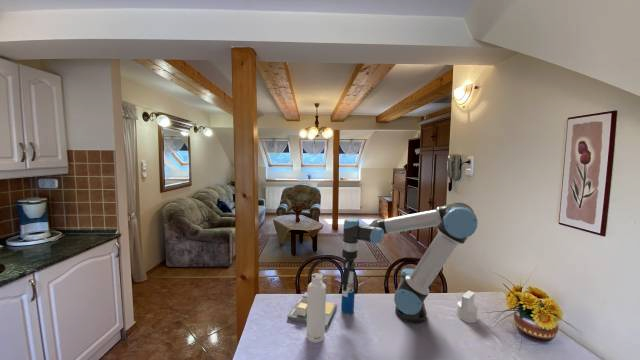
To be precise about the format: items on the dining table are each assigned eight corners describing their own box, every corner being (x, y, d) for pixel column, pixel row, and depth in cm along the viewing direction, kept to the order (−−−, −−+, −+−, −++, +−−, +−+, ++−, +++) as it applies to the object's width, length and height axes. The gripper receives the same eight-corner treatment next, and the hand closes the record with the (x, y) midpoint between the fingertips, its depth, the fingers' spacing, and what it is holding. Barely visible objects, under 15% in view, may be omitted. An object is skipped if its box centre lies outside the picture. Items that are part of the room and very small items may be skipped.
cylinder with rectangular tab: (472, 325, 126) (475, 301, 125) (453, 316, 133) (455, 293, 132) (479, 317, 132) (481, 295, 131) (460, 309, 139) (462, 288, 138)
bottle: (318, 345, 110) (320, 282, 107) (302, 338, 114) (304, 277, 111) (327, 333, 117) (329, 274, 114) (312, 327, 121) (314, 269, 118)
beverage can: (350, 316, 130) (351, 294, 129) (338, 312, 133) (339, 290, 132) (355, 310, 135) (356, 288, 134) (344, 306, 139) (345, 284, 137)
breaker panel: (336, 307, 137) (336, 303, 137) (326, 329, 120) (327, 324, 120) (301, 300, 143) (301, 296, 143) (287, 319, 126) (287, 315, 126)
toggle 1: (307, 311, 129) (308, 304, 129) (304, 316, 125) (305, 308, 125) (300, 310, 130) (300, 302, 130) (297, 314, 126) (297, 306, 126)
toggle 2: (312, 300, 139) (312, 293, 138) (309, 304, 135) (309, 297, 135) (305, 299, 140) (305, 292, 140) (302, 303, 136) (302, 295, 136)
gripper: (347, 240, 144) (345, 277, 146) (336, 257, 120) (334, 300, 122) (361, 242, 142) (358, 279, 144) (352, 260, 118) (349, 304, 120)
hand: (347, 289), depth 133 cm, fingers open, 13 cm apart
